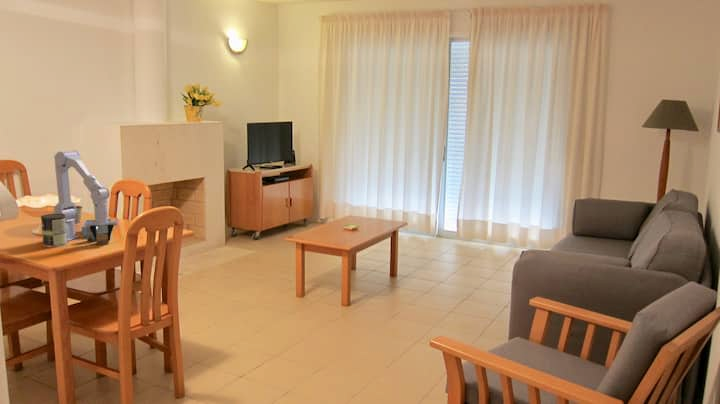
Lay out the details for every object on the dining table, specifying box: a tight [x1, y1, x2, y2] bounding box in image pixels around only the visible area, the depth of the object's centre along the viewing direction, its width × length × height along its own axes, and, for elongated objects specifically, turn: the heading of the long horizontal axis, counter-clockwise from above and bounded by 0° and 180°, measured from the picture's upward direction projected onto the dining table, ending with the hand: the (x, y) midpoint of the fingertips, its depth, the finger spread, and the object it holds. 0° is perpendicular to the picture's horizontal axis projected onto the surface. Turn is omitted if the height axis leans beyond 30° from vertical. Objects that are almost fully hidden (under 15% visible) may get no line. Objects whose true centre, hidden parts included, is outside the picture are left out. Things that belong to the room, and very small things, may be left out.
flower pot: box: [74, 205, 83, 224], centre depth 325 cm, size 9×9×9 cm
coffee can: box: [40, 213, 68, 248], centre depth 275 cm, size 10×10×14 cm
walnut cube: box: [96, 232, 110, 246], centre depth 280 cm, size 5×5×5 cm
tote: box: [81, 218, 114, 239], centre depth 301 cm, size 17×13×6 cm
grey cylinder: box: [86, 226, 98, 243], centre depth 284 cm, size 5×5×7 cm
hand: (102, 240), depth 280 cm, fingers closed on walnut cube, 5 cm apart
